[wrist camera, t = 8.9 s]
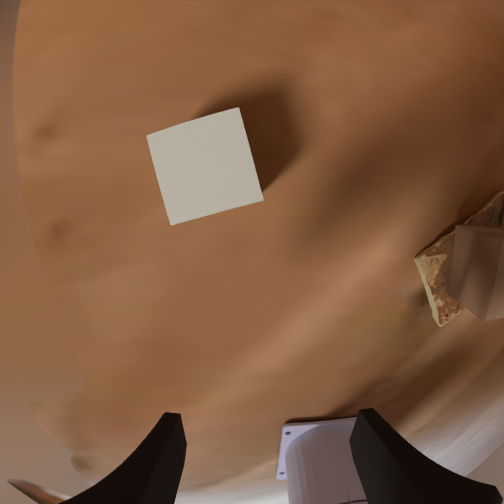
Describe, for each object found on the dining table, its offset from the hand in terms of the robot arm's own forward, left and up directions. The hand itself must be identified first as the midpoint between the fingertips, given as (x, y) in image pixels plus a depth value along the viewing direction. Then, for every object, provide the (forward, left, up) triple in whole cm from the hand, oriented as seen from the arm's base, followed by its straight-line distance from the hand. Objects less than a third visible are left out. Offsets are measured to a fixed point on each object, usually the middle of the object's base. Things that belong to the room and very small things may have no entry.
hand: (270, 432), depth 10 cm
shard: (+5, -15, -11) cm, 19 cm away
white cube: (+10, +3, -10) cm, 14 cm away
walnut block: (+5, -16, -9) cm, 19 cm away
